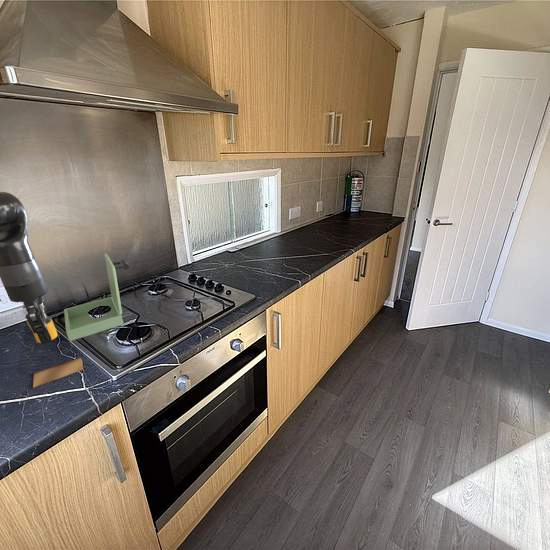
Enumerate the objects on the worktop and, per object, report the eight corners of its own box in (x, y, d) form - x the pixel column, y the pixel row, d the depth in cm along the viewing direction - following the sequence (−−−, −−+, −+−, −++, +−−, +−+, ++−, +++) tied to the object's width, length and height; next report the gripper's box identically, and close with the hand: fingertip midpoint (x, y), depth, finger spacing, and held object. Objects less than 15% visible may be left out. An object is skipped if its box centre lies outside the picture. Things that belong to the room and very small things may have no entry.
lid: (112, 267, 92) (132, 264, 95) (104, 253, 105) (122, 251, 108) (119, 314, 98) (138, 310, 101) (111, 295, 111) (127, 292, 114)
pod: (36, 345, 74) (29, 329, 73) (36, 337, 78) (30, 321, 76) (57, 338, 77) (51, 322, 75) (57, 330, 80) (51, 315, 78)
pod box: (70, 343, 91) (66, 331, 90) (67, 319, 105) (63, 309, 103) (124, 326, 100) (121, 315, 98) (115, 306, 113) (112, 296, 111)
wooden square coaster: (33, 387, 74) (33, 386, 74) (35, 364, 83) (34, 363, 82) (83, 369, 80) (83, 368, 80) (80, 349, 88) (79, 348, 88)
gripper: (6, 273, 74) (30, 330, 81) (-2, 293, 63) (27, 357, 70) (42, 266, 78) (62, 321, 85) (41, 284, 67) (64, 345, 74)
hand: (46, 337), depth 77 cm, fingers closed on pod, 4 cm apart
